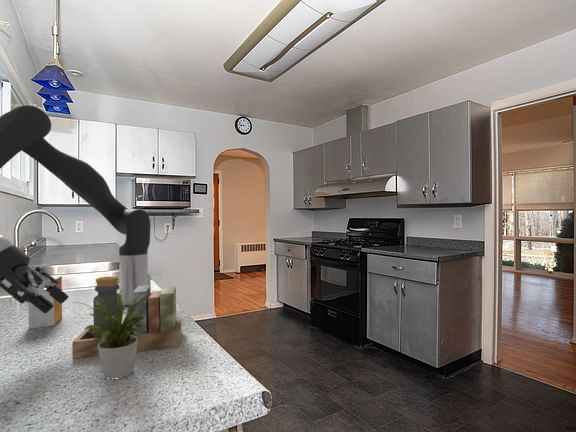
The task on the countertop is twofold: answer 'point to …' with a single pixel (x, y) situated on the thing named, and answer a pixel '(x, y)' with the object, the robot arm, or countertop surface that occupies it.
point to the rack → (158, 322)
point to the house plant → (117, 338)
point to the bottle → (109, 294)
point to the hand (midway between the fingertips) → (58, 304)
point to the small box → (49, 318)
